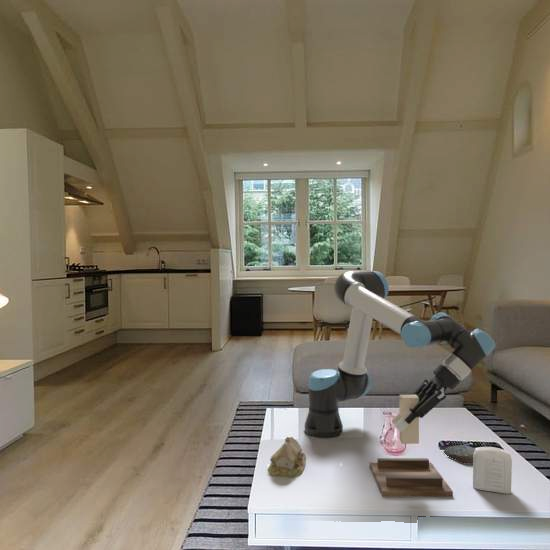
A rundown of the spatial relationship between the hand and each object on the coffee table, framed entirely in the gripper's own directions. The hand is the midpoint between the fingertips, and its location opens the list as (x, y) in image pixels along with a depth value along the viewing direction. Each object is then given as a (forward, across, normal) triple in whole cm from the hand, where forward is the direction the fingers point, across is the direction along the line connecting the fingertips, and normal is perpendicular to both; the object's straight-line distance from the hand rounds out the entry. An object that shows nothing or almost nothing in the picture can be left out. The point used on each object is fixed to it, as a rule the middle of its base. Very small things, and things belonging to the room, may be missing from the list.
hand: (396, 426), depth 133 cm
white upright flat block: (-7, -5, -31) cm, 32 cm away
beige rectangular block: (+1, 0, -6) cm, 6 cm away
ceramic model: (+35, +9, +11) cm, 38 cm away
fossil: (-7, +17, -32) cm, 37 cm away
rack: (+9, 0, -14) cm, 17 cm away
